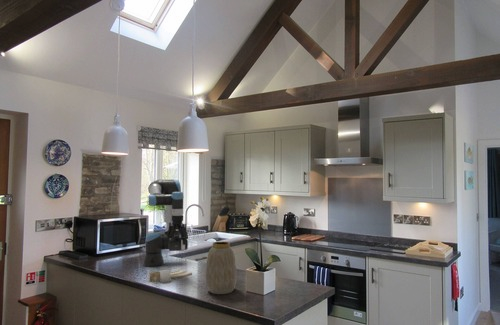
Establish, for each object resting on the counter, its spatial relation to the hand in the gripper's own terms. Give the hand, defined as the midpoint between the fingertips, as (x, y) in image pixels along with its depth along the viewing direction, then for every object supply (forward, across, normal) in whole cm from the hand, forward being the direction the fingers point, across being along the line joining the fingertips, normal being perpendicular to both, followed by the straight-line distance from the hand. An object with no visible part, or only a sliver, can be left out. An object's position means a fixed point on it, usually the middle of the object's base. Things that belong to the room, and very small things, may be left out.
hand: (177, 248), depth 240 cm
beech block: (+18, -3, -16) cm, 24 cm away
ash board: (+17, 0, 0) cm, 17 cm away
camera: (+1, 0, 0) cm, 1 cm away
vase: (+18, +45, -9) cm, 49 cm away
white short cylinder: (+17, +4, -14) cm, 23 cm away
